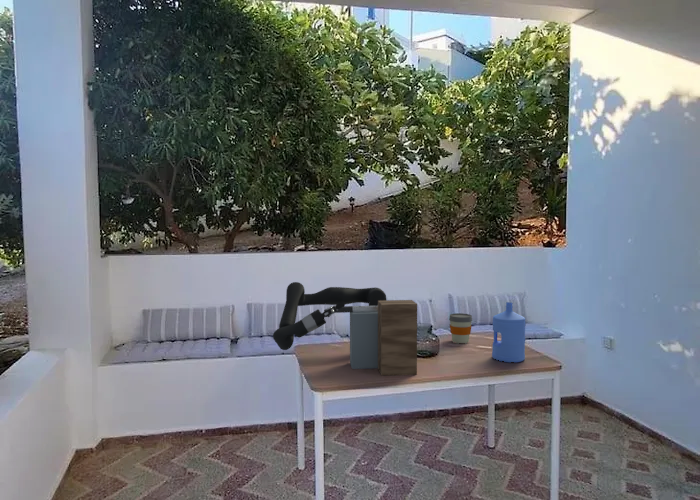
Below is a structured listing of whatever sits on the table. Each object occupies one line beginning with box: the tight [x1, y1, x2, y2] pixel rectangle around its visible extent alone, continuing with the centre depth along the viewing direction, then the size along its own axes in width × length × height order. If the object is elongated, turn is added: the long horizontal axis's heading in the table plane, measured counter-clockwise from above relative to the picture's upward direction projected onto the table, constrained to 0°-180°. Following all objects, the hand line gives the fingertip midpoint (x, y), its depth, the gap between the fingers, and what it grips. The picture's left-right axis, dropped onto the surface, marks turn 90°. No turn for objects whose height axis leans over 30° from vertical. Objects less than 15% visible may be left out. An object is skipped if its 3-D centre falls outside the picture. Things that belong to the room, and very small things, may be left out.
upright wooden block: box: [377, 299, 418, 377], centre depth 239 cm, size 11×16×32 cm
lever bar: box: [334, 305, 378, 314], centre depth 247 cm, size 3×24×2 cm, turn 96°
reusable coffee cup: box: [449, 312, 473, 344], centre depth 295 cm, size 12×13×15 cm
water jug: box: [491, 301, 526, 363], centre depth 260 cm, size 16×16×28 cm
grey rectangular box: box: [349, 312, 378, 370], centre depth 249 cm, size 10×20×26 cm, turn 96°
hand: (343, 303), depth 246 cm, fingers open, 8 cm apart
